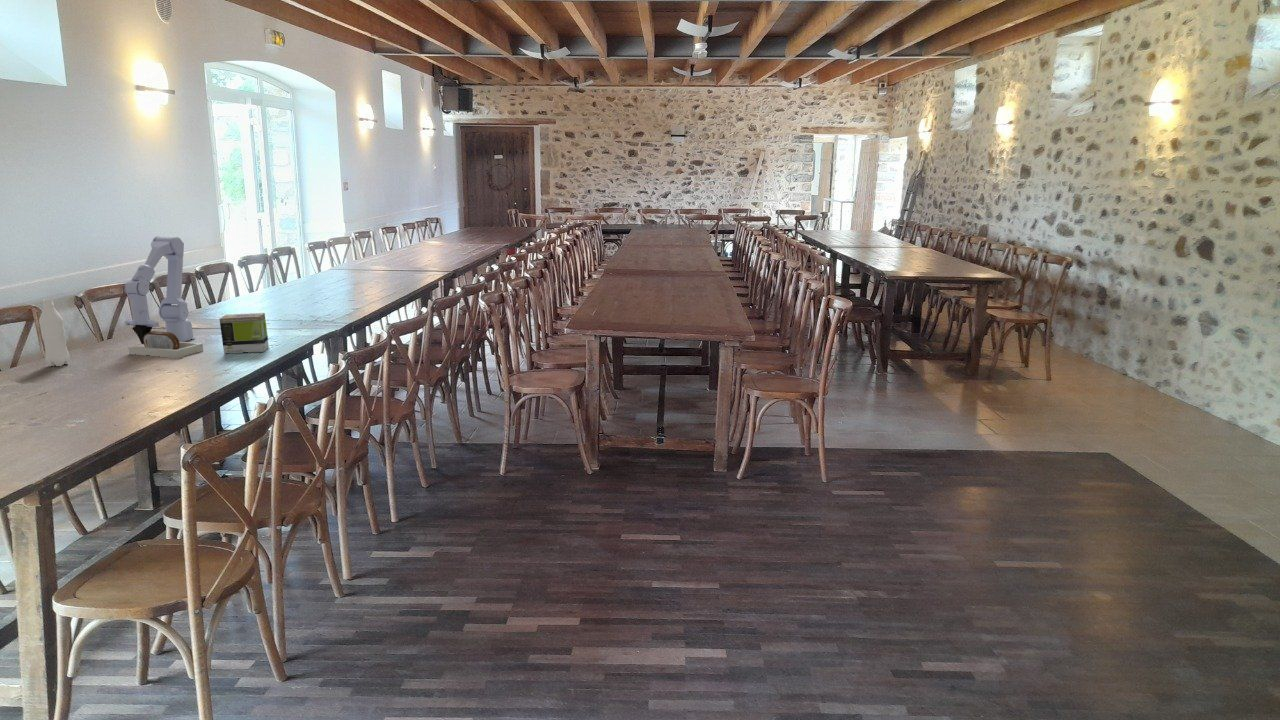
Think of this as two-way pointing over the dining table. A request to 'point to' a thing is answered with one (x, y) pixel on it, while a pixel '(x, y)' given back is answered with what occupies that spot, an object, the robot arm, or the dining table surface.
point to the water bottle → (53, 335)
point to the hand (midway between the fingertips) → (144, 343)
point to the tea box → (244, 333)
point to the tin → (161, 340)
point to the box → (168, 350)
